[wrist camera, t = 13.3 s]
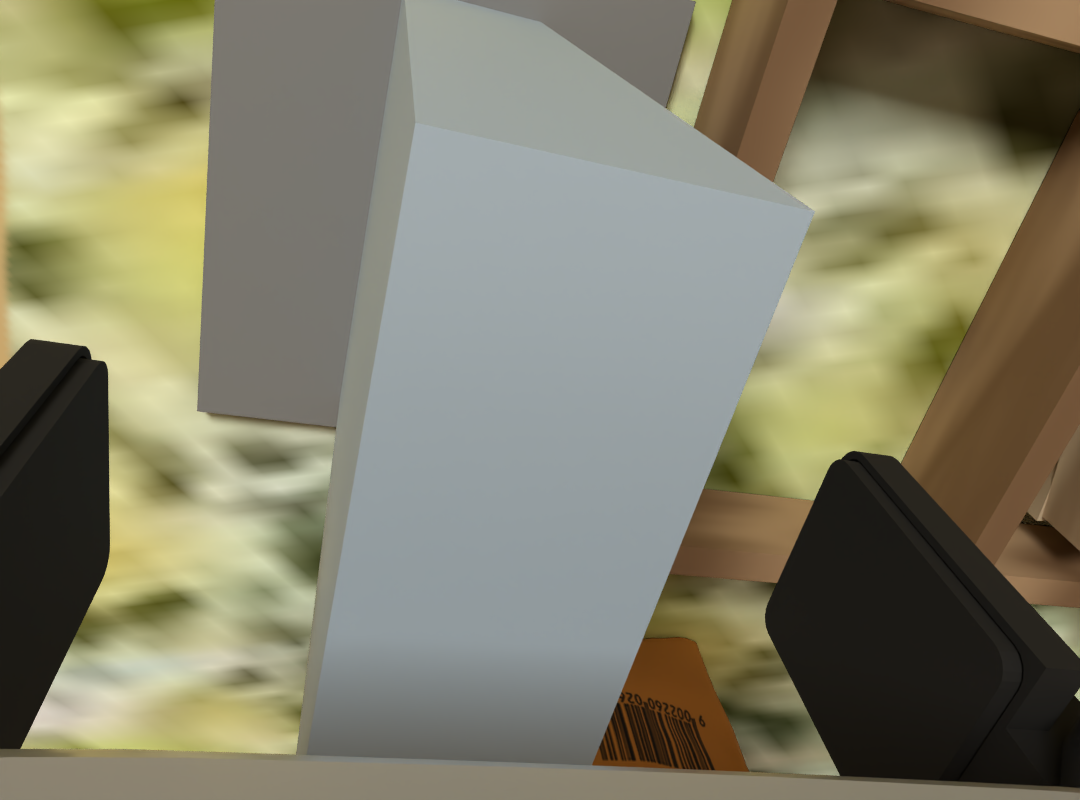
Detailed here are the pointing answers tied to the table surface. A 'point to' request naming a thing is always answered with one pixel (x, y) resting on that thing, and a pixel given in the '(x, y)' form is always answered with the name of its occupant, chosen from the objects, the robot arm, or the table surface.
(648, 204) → the board
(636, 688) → the coffee package
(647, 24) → the mat
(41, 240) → the table surface
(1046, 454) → the rack
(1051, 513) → the offcut upper
